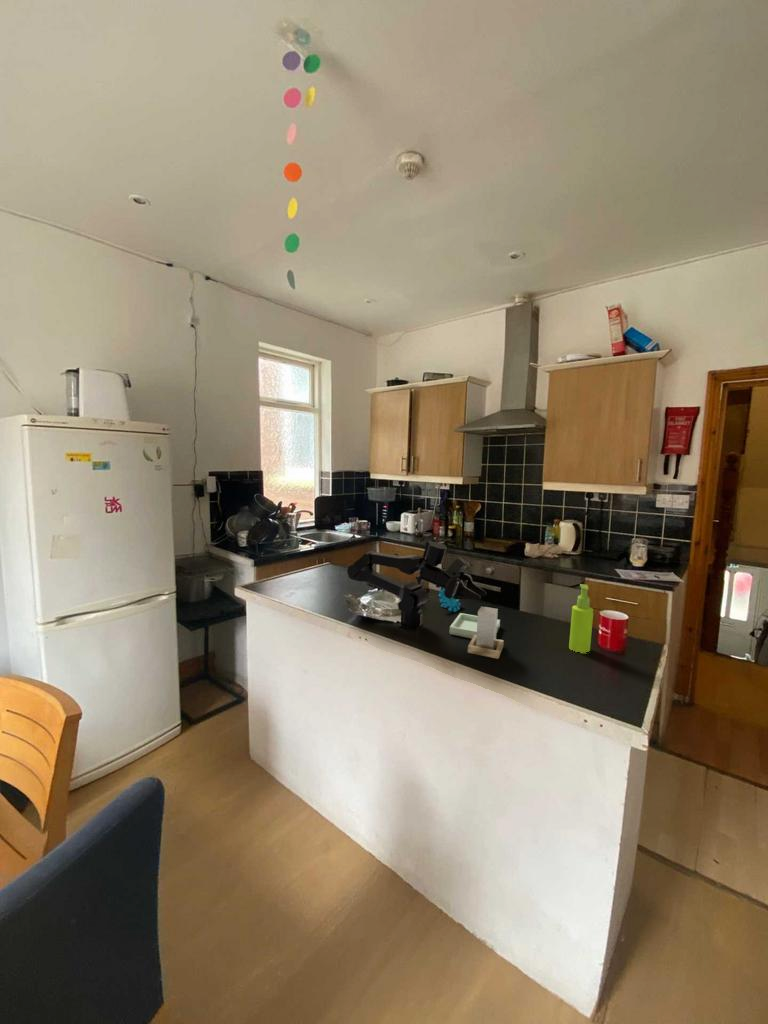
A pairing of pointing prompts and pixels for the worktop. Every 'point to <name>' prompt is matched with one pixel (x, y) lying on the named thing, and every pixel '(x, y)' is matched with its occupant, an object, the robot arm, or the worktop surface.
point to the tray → (466, 626)
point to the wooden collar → (485, 649)
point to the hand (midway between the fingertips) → (483, 596)
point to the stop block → (487, 628)
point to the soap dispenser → (581, 623)
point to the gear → (449, 602)
